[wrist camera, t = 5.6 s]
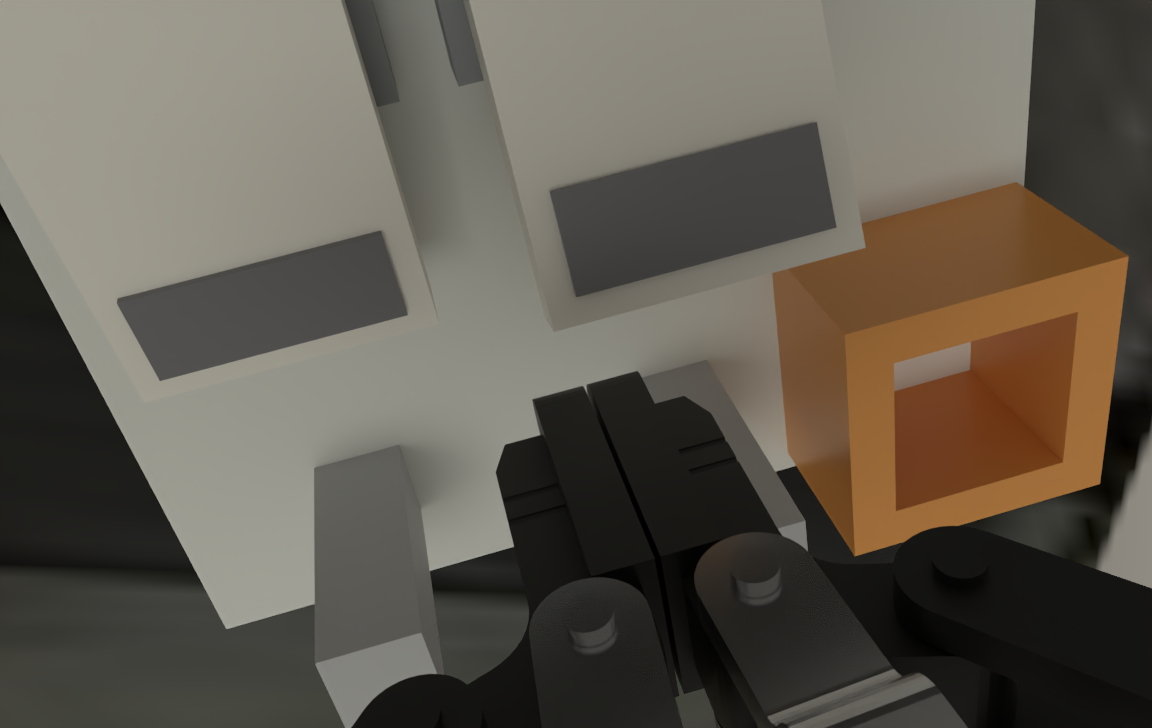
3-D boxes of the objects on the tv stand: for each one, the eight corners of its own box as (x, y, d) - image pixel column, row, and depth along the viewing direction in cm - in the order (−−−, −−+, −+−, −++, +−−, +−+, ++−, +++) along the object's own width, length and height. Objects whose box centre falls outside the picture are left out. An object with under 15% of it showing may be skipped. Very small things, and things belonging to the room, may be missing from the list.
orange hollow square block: (770, 248, 24) (844, 334, 20) (1016, 182, 24) (1128, 256, 21) (787, 452, 27) (854, 556, 24) (1004, 391, 28) (1099, 483, 24)
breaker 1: (-162, -208, 14) (-200, -181, 13) (255, -297, 14) (255, -280, 13) (150, 356, 20) (143, 408, 19) (430, 283, 21) (440, 328, 20)
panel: (-297, -393, 15) (-645, -456, 10) (1053, -662, 17) (1415, -847, 11) (227, 611, 27) (206, 844, 21) (998, 391, 28) (1163, 554, 23)
